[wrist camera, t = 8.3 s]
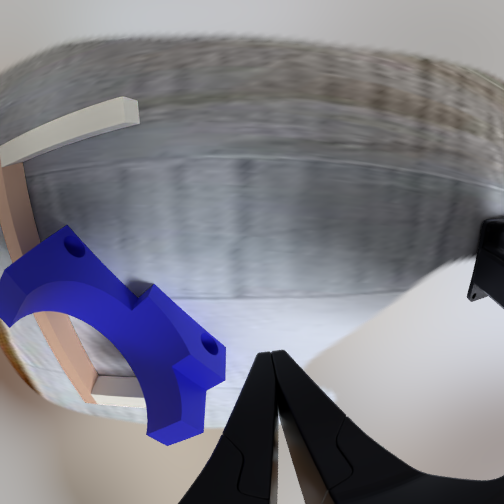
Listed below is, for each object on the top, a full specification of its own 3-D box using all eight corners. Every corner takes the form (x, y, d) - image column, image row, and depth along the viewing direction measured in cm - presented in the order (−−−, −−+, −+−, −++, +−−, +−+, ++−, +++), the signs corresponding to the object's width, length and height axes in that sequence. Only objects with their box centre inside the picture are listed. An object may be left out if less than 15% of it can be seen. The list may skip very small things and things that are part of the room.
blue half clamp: (225, 345, 17) (225, 423, 12) (178, 374, 18) (167, 445, 13) (81, 205, 13) (15, 247, 8) (46, 255, 14) (-10, 305, 9)
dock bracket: (137, 100, 11) (122, 96, 10) (200, 386, 19) (198, 408, 17) (8, 148, 11) (-13, 153, 9) (92, 384, 18) (85, 402, 17)
